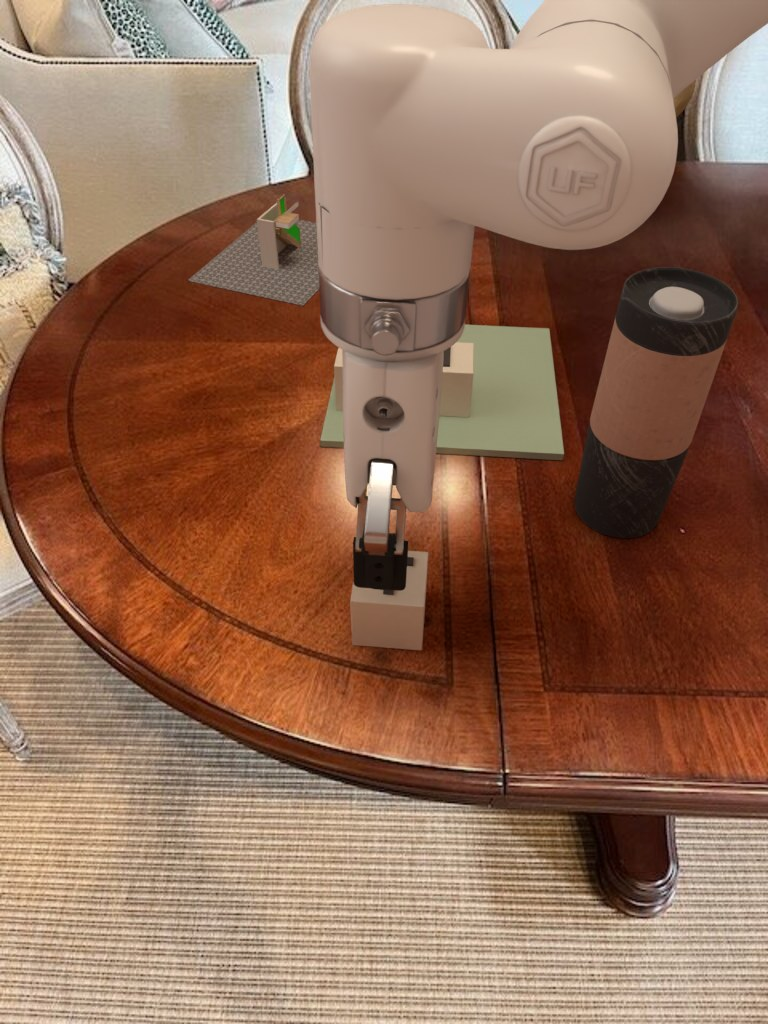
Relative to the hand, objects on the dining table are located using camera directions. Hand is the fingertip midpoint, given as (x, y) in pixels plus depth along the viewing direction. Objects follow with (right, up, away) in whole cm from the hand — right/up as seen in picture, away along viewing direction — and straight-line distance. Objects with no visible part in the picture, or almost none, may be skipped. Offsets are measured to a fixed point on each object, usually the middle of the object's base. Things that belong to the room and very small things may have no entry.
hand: (386, 529), depth 52 cm
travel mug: (+19, +1, +14) cm, 24 cm away
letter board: (+6, +14, +27) cm, 30 cm away
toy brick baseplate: (-13, +33, +46) cm, 58 cm away
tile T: (0, -7, +6) cm, 9 cm away
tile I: (+6, +12, +24) cm, 27 cm away
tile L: (-2, +12, +24) cm, 27 cm away
